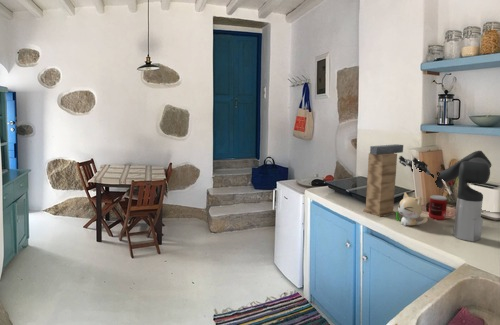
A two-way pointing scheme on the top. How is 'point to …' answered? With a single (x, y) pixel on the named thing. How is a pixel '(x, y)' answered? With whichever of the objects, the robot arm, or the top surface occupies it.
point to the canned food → (437, 207)
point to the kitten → (410, 210)
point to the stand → (381, 184)
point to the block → (386, 149)
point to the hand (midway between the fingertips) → (406, 158)
